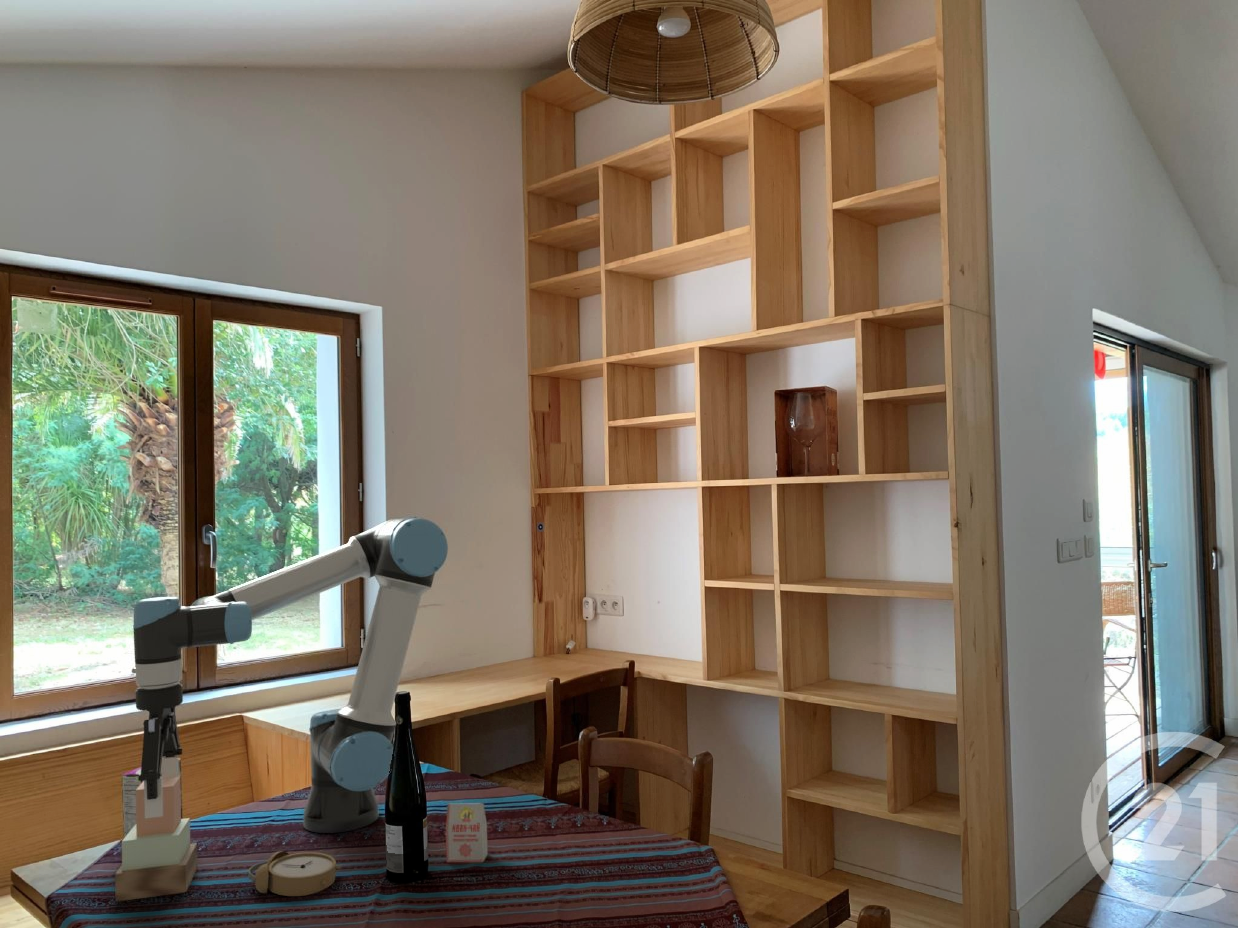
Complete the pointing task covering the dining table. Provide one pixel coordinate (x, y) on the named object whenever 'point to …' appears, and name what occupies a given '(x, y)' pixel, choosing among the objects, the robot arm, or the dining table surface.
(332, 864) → the alarm clock
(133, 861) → the tower upper
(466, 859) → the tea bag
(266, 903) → the dining table surface
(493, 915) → the dining table surface
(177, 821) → the block
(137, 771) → the candy bar box
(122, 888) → the tower lower
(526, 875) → the dining table surface
